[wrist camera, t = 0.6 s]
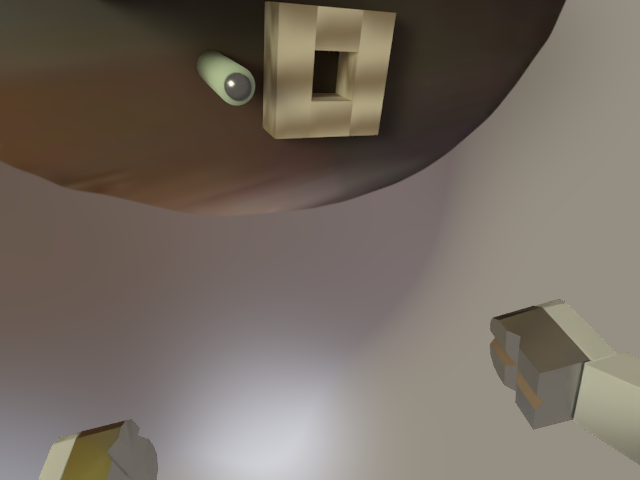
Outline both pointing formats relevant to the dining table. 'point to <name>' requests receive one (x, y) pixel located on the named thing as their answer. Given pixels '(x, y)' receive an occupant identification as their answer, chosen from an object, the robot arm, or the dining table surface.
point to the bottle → (226, 77)
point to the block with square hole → (298, 63)
